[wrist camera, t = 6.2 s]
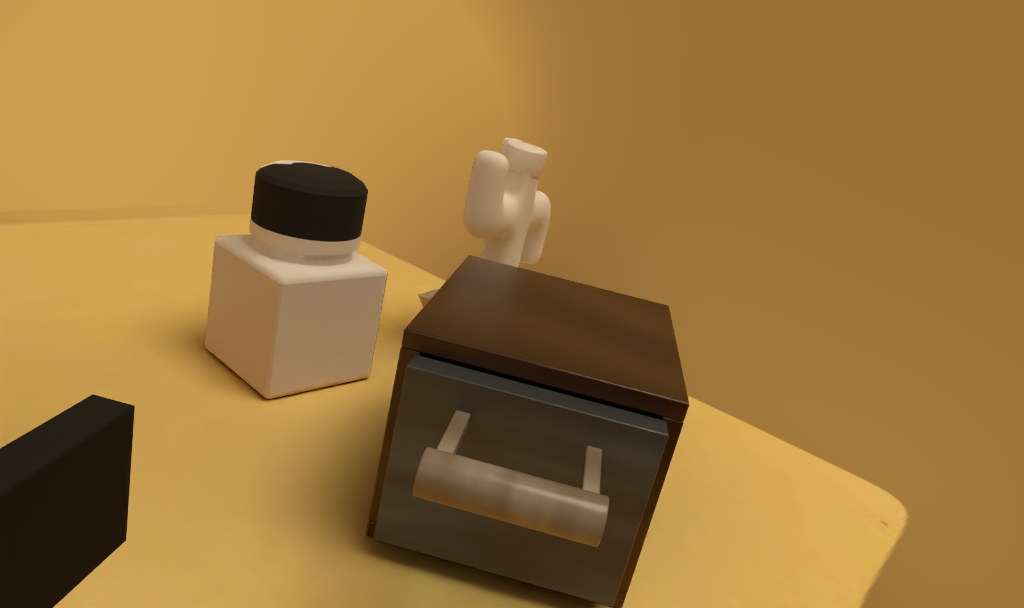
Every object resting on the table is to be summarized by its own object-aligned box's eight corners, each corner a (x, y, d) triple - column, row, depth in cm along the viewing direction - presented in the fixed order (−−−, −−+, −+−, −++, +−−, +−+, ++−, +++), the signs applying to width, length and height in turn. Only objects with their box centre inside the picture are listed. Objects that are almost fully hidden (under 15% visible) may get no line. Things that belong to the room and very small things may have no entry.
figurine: (551, 353, 55) (602, 156, 51) (488, 387, 47) (541, 157, 43) (472, 320, 58) (513, 131, 54) (399, 347, 50) (440, 127, 46)
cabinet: (621, 609, 30) (690, 403, 27) (365, 536, 31) (404, 328, 28) (621, 460, 42) (669, 305, 39) (436, 410, 43) (468, 254, 40)
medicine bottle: (371, 379, 45) (405, 187, 41) (265, 402, 40) (293, 184, 36) (306, 333, 49) (331, 155, 45) (202, 348, 44) (221, 148, 40)
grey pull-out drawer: (611, 711, 24) (679, 512, 22) (325, 627, 25) (360, 425, 22) (615, 463, 40) (655, 332, 37) (439, 416, 41) (467, 283, 38)
